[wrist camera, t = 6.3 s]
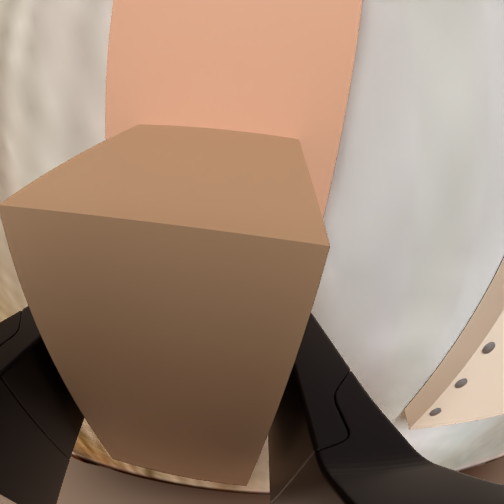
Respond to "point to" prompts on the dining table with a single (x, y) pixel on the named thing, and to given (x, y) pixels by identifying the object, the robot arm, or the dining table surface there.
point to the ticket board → (468, 370)
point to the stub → (191, 227)
